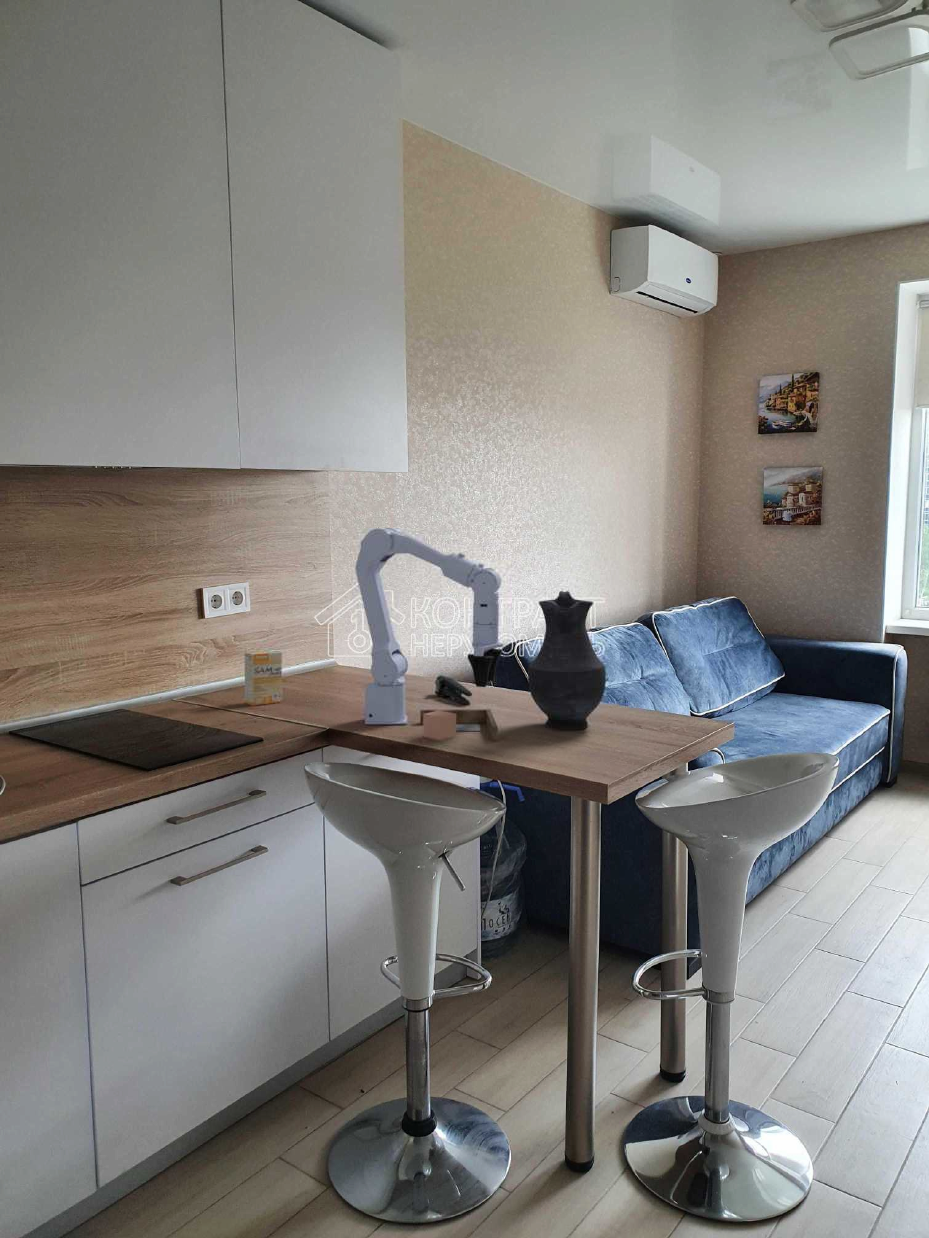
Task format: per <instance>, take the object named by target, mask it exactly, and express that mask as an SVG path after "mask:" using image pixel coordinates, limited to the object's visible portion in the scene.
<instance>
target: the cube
mask: <svg viewBox="0 0 929 1238" xmlns="http://www.w3.org/2000/svg"><path fill="white" fill-rule="evenodd" d="M456 724H457V723H456V714H454V713H449V712H444V711H435V712H430V713H426V714H423V723H422V725H423V726H422V733H423V735H422V736H424V737H423V738H427V737H428V738H429V739H432V740H436V739H437V741H443V739H444V740H447V738H448V739H450V738H451V737H452V738H454V737H455V736H456V737H457V732H456ZM452 738H451V739H452Z"/></svg>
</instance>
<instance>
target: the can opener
mask: <svg viewBox="0 0 929 1238" xmlns="http://www.w3.org/2000/svg"><path fill="white" fill-rule="evenodd" d="M434 684H435V690H434V694H435V695H437V696H438V697H442V696H443V698H445V697H446V698H447V697H450V698H452V699H453V700H454V701H455V702H457V703H458V704H461V705H464V706H470V705H471V702H470V701H469V699H468V698H469V697H472V696H473V693H472V692H471V690H469V689H468V688H467V687H465V686H464V685H463V684H461V683H459V682H458V681H456V680H454V677H452V676H451V677H447V676H445V675H439V676H438V677H437V678H436V679H435V680H434ZM463 695H464V696H466V697H468V698H466V697H464V696H463Z"/></svg>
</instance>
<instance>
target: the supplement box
mask: <svg viewBox="0 0 929 1238" xmlns="http://www.w3.org/2000/svg"><path fill="white" fill-rule="evenodd" d="M282 653H283V651H280V650H277V649H273V650H272V649H270V650H259V651H257V650H256V651H245V652H244V703H245V704H247V705H249V706H252V707H253V706H263V705H269V704H276V703H278V702H279V703H282V702H283V654H282Z"/></svg>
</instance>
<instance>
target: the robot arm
mask: <svg viewBox="0 0 929 1238" xmlns="http://www.w3.org/2000/svg"><path fill="white" fill-rule="evenodd" d="M398 554H400V555H401V554H408V555H411V556H413V557H416V558H418V559H420V560H422V561H424V562H427V563H429V564H432V565H434V566H436V567H438V568H440V570H441V572H442V575H443V576H444V577H446V578H447V579H450V580H452V581H454V582H455V583H457V584H460V585H461V586H463V587H465V588H471V590H472V592H473V603H472V642H471V648H472V649H473V653H469V654H467V659H468V662H469V664H470V667H471V669H472V671H473V672H472V673H473V677H474V678H473V679H474V683H475V687H476V688H478V687H479V688H486V687H487V685H488V682H493V681H494V679H495V675H496V669H497V665H498V662H499V659H500V657H501V655H502V653H503V649H501V648H503V647H504V645H505V644H504V643H503V642H499V627H500V625H499V623H500V622H499V621H500V618H499V617H500V616H499V615H500V610H499V609H500V603H499V598H500V596H499V590H500V588H501V584H502V579H501V575H500V574H499V573H498V572H497V571H495V570H494V569H493V568H491V567H487V568H484V567H485V564H484V563H481V562H479V563H477V562H476V561H473V560H471V559H469V558H467V557H466V555H467V554H465V553H462V552H459V553H457V552H452V553H449V554H445V553H444V552H442V551H441V550H438V549H436V548H435V547H433V546H430V545H429V544H427V543H425V542H423V541H422V540H420V539H418V538H416V537H414V536H413V535H410V534H407V533H405V532H401V531H398V530H396V529H394V528H390V527H386V528H373V529H371V530H369V531H368V532H367V534H366V535H365V536H364V537H363V538H362V540H361V541H360V550H359V552H358V556H357V560H356V562H355V563H356V564H355V568H354V569H355V570H354V571H355V574H356V578H357V583H358V587H359V590H360V596H361V600H362V605H363V609H364V612H365V616H366V621H367V625H368V629H369V633H370V638H371V642H372V648H371V654H370V655H371V656H370V657H371V667H370V673H371V676H372V678H373V682H370V683H369V682H368V683H365V687H364V707H363V716H364V724H365V725H407V724H408V715H407V714H406V679H405V677H404V676H405V674H406V673H407V671H408V668H409V667H408V666H409V663H408V660H407V658H406V656H405V655H404V654H403V652H402V650H401V645H400V644H399V642H398V641H397V639H396V637H395V634H394V629H393V625H392V620H391V616H390V612H389V608H388V604H387V600H386V595H385V590H384V588H383V587H384V586H383V582H382V578H381V574H380V572H381V570H382V568H384V566H385V564H386V563H387V561H388V560H390V559H391V558H393V556H395V555H398Z"/></svg>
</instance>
